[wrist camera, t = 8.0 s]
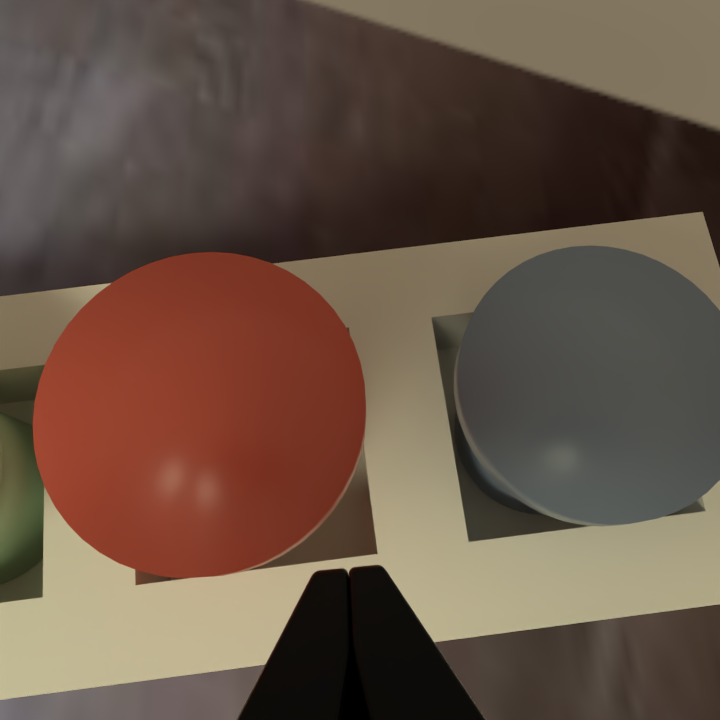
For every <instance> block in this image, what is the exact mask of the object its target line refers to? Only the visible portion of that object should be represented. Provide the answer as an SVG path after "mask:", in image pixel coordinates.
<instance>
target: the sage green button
mask: <svg viewBox="0 0 720 720" xmlns="http://www.w3.org/2000/svg"><path fill="white" fill-rule="evenodd" d="M43 534H44V484H43V481H42V478H41V475H40V472H39V469H38V466H37V460H36V455H35V450H34V442H33V425H31V424H28V423H26V422H23V421H21V420H19V419H16V418H14V417H11V416H9V415H7V414H4V413H2V412H0V584H3V583H6V582H9V581H11V580H13V579H15V578H17V577H19V576H21V575H22V574H24V573H26V572H27V571H29V570H30V569H31V568H32V567H34V566H35V565H36V564H37V563H39V562H40V561H41V560H42V559H43Z"/></svg>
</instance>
